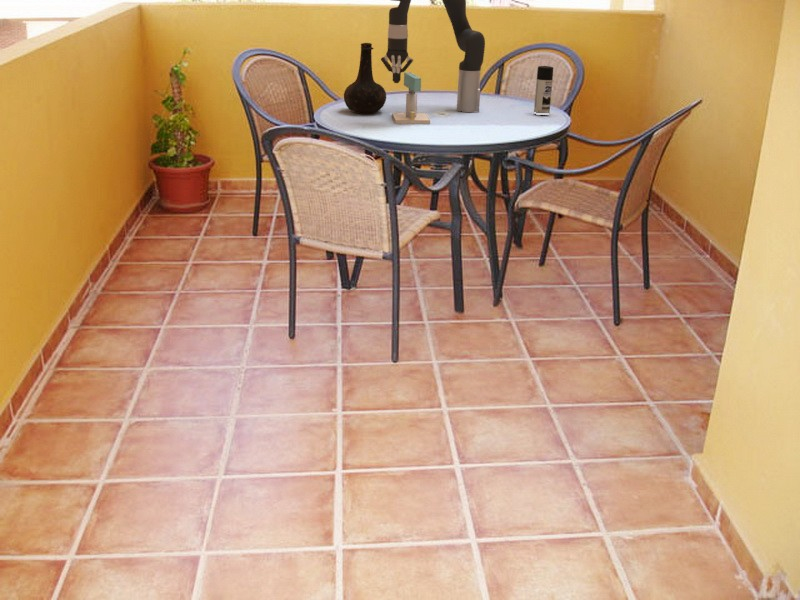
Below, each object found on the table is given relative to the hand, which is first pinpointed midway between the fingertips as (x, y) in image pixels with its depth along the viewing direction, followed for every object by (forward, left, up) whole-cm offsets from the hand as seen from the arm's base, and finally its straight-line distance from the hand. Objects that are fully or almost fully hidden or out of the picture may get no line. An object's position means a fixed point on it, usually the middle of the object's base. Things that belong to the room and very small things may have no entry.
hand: (396, 82), depth 330 cm
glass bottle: (+11, -22, -16) cm, 30 cm away
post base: (-7, -6, -16) cm, 18 cm away
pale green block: (-7, -6, -5) cm, 11 cm away
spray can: (-65, -21, -16) cm, 70 cm away
